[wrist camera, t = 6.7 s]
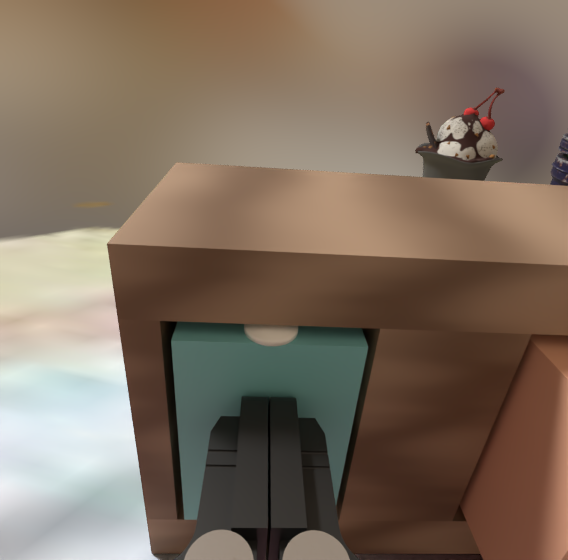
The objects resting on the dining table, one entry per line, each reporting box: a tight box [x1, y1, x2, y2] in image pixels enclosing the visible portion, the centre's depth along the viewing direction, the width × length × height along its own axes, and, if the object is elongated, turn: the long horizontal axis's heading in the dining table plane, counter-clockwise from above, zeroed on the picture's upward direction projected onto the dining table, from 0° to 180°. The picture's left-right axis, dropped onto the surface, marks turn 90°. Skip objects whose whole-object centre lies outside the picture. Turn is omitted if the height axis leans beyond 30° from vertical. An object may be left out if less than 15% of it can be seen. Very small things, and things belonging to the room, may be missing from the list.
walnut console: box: [107, 163, 568, 554], centre depth 16 cm, size 17×8×12 cm, turn 92°
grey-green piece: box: [171, 321, 368, 520], centre depth 15 cm, size 5×6×7 cm
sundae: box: [415, 88, 504, 181], centre depth 35 cm, size 7×7×15 cm
